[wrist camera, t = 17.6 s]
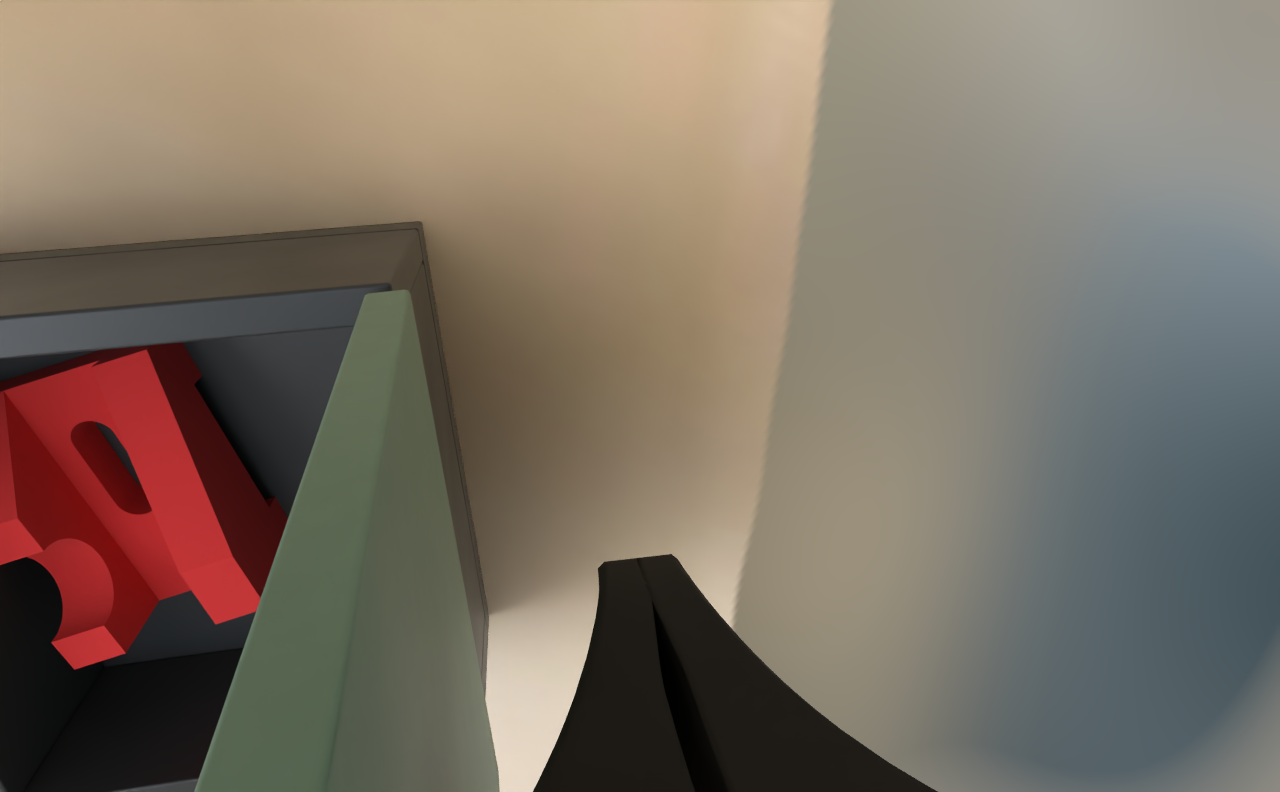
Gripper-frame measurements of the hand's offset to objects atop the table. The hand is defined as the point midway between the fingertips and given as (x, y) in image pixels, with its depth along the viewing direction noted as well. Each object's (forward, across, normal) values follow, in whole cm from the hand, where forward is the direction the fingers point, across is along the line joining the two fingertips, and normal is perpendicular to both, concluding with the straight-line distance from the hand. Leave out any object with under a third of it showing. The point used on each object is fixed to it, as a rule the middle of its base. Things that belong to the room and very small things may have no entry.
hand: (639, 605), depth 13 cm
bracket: (+9, +12, +1) cm, 15 cm away
